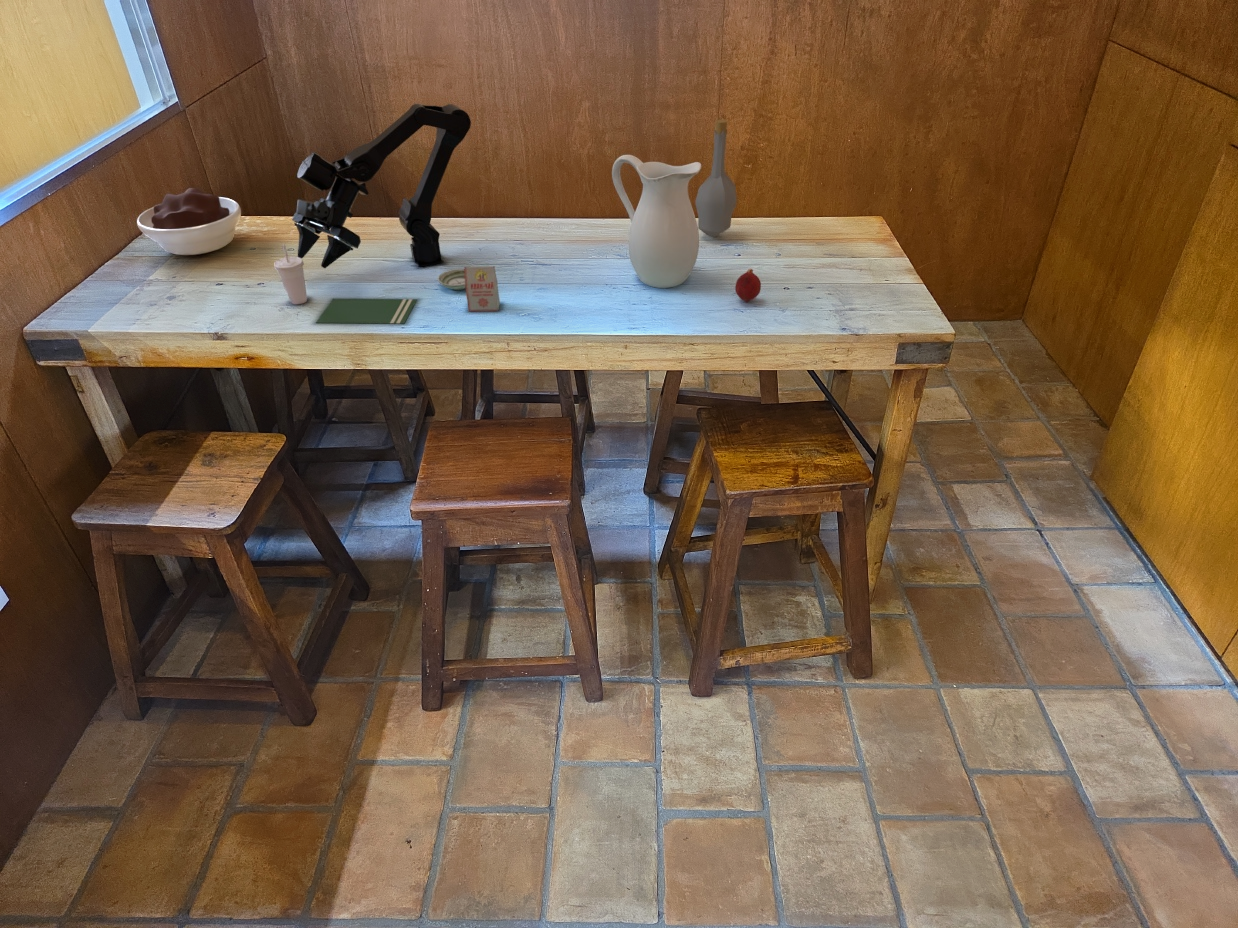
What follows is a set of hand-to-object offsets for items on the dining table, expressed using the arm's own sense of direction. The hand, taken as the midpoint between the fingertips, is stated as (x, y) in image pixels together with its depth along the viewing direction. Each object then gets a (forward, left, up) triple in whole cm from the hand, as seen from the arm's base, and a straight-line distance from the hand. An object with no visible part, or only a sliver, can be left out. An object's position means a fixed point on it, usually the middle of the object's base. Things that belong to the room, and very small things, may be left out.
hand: (311, 262), depth 184 cm
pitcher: (-76, +26, -8) cm, 81 cm away
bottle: (-102, +12, -8) cm, 103 cm away
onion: (-89, +49, -8) cm, 102 cm away
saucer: (-31, +11, -8) cm, 34 cm away
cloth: (-9, +15, -8) cm, 19 cm away
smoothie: (+5, +3, -8) cm, 10 cm away
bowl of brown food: (+25, -43, -8) cm, 50 cm away
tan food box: (-33, +25, -8) cm, 43 cm away
